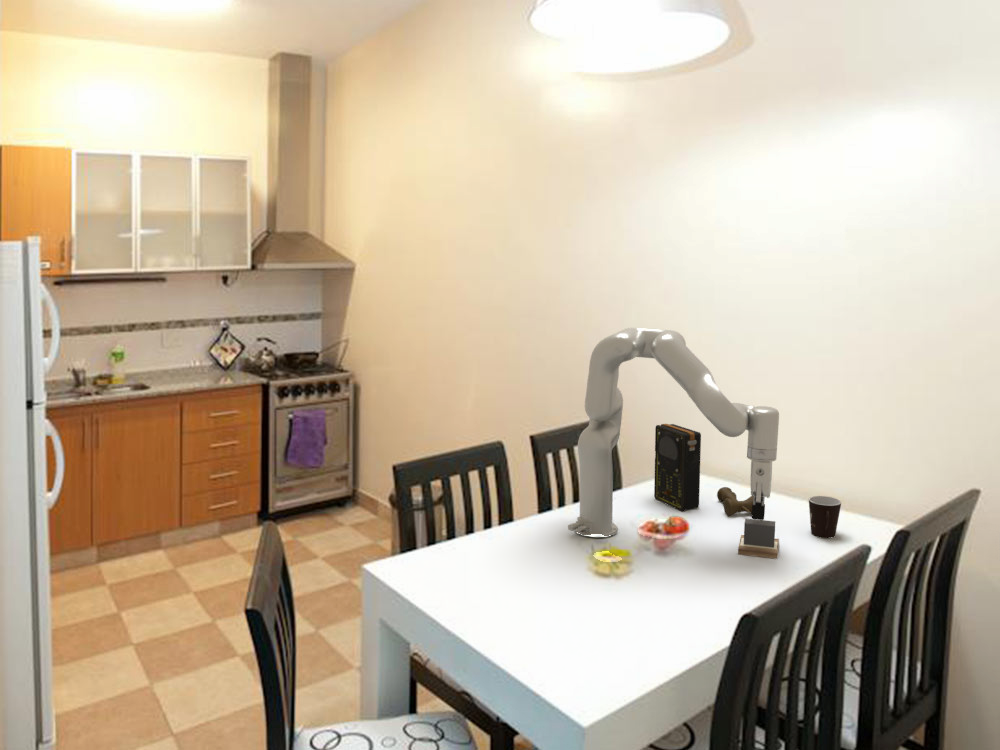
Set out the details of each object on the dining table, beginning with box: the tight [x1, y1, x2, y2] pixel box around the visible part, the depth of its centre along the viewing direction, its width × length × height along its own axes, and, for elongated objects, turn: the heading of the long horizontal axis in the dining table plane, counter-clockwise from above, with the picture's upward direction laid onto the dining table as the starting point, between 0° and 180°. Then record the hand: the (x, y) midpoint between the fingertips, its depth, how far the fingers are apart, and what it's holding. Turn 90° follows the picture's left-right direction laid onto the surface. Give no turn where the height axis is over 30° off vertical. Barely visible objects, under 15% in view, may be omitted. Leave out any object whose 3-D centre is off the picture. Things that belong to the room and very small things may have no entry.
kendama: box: [716, 486, 754, 518], centre depth 247 cm, size 6×10×20 cm
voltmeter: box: [653, 423, 702, 512], centre depth 253 cm, size 16×9×25 cm, turn 25°
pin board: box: [737, 534, 780, 559], centre depth 216 cm, size 11×10×5 cm
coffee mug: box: [808, 495, 842, 539], centre depth 225 cm, size 12×9×10 cm
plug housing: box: [743, 518, 776, 548], centre depth 216 cm, size 4×8×6 cm, turn 70°
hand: (757, 518), depth 216 cm, fingers closed
